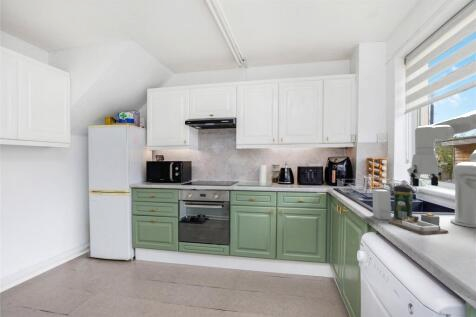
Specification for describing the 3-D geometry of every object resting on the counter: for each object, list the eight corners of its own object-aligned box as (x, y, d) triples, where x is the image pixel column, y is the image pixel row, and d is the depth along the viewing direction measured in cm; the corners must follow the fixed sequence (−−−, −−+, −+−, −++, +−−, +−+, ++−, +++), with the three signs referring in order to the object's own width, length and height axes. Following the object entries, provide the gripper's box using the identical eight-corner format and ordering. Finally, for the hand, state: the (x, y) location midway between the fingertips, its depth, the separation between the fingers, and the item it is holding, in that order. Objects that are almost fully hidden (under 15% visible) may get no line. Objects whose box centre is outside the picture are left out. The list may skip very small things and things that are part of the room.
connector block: (429, 223, 117) (429, 212, 117) (439, 226, 112) (439, 215, 112) (420, 224, 116) (421, 212, 116) (430, 227, 111) (431, 215, 111)
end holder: (419, 223, 113) (419, 220, 113) (440, 230, 103) (440, 226, 103) (401, 224, 111) (401, 221, 111) (421, 231, 101) (421, 227, 101)
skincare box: (391, 220, 123) (391, 191, 123) (377, 219, 124) (378, 190, 124) (384, 216, 131) (384, 189, 131) (371, 215, 132) (372, 188, 132)
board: (411, 221, 121) (411, 214, 120) (448, 232, 103) (448, 225, 103) (388, 222, 118) (388, 215, 118) (422, 234, 100) (422, 226, 100)
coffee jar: (396, 214, 134) (397, 183, 134) (413, 217, 128) (414, 184, 128) (391, 217, 128) (392, 184, 127) (408, 220, 122) (409, 186, 121)
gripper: (434, 151, 117) (435, 184, 117) (402, 151, 116) (402, 185, 116) (448, 150, 109) (449, 186, 110) (414, 151, 109) (414, 187, 109)
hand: (425, 185), depth 113 cm, fingers open, 9 cm apart
